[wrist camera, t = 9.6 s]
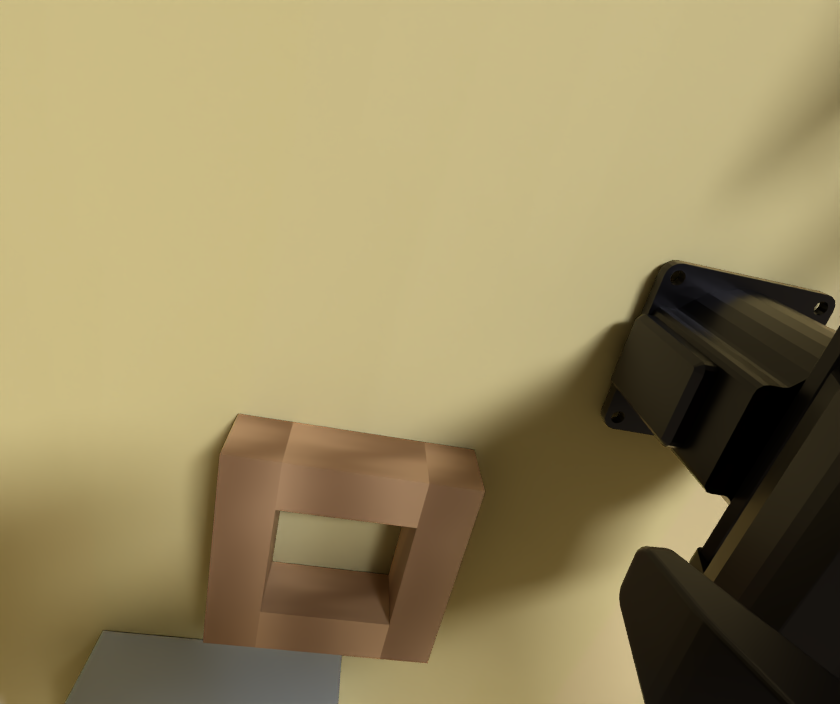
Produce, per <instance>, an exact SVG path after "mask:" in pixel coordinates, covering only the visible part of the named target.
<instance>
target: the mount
mask: <svg viewBox="0 0 840 704" xmlns="http://www.w3.org/2000/svg"><path fill="white" fill-rule="evenodd" d="M484 494H485V489H484V485H483V481H482V477H481V474H480V470H479V466H478V462H477V458H476V455H475V451H474V450H472V449H466V448H459V447H453V446H446V445H440V444H433V443H426V442H420V441H413V440H407V439H400V438H394V437H387V436H381V435H374V434H368V433H361V432H354V431H348V430H341V429H335V428H328V427H322V426H315V425H309V424H302V423H296V422H289V421H282V420H276V419H269V418H263V417H256V416H250V415H243V414H238V415H237V417H236V419H235V422H234V424H233V426H232V428H231V430H230V432H229V435H228V437H227V439H226V441H225V443H224V446H223V448H222V450H221V452H220V456H219V467H218V478H217V489H216V501H215V512H214V523H213V534H212V545H211V556H210V568H209V579H208V590H207V601H206V612H205V624H204V635H203V643H211V644H222V645H233V646H244V647H255V648H266V649H277V650H288V651H299V652H310V653H321V654H332V655H343V656H354V657H365V658H376V659H387V660H398V661H409V662H420V663H428V660H429V657H430V654H431V651H432V648H433V645H434V642H435V639H436V636H437V633H438V630H439V627H440V624H441V621H442V618H443V615H444V612H445V609H446V606H447V603H448V600H449V597H450V595H451V592H452V589H453V586H454V583H455V580H456V577H457V574H458V571H459V568H460V565H461V562H462V559H463V556H464V553H465V550H466V547H467V544H468V541H469V538H470V535H471V532H472V529H473V526H474V523H475V520H476V517H477V515H478V512H479V509H480V506H481V503H482V500H483V497H484ZM280 511H287V512H295V513H303V514H311V515H318V516H326V517H334V518H342V519H350V520H357V521H365V522H373V523H381V524H388V525H396V526H402V527H401V531H400V535H399V538H398V542H397V546H396V549H395V553H394V557H393V561H392V564H391V568H390V572H389V575H385V574H377V573H368V572H359V571H351V570H342V569H333V568H324V567H316V566H307V565H298V564H289V563H281V562H272V560H273V553H274V547H275V540H276V533H277V527H278V520H279V513H280Z"/></svg>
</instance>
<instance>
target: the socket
mask: <svg viewBox="0 0 840 704" xmlns="http://www.w3.org/2000/svg"><path fill="white" fill-rule="evenodd" d="M341 658H342V655H332V654H321V653H310V652H299V651H288V650H277V649H266V648H255V647H244V646H233V645H222V644H211V643H203V640H199V639H188V638H177V637H166V636H156V635H145V634H134V633H123V632H112V631H102V633H101V635H100V637H99V639H98V641H97V643H96V645H95V647H94V649H93V650H92V652H91V654H90V656H89V658H88V660H87V662H86V664H85V666H84V668H83V670H82V671H81V673H80V675H79V677H78V679H77V681H76V683H75V685H74V687H73V689H72V690H71V692H70V694H69V696H68V698H67V700H66V702H65V704H338V700H339V686H340V672H341Z"/></svg>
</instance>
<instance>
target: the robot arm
mask: <svg viewBox="0 0 840 704" xmlns="http://www.w3.org/2000/svg"><path fill="white" fill-rule="evenodd" d="M676 271H680V274H679V277H678V278H677V279H676V280H675V281H672V282H671V281H670V279H671V276H672V274H673V273H674V272H676ZM818 303H820V304H819V307H818V308H817V309H816V310H814V307H815V306H816V305H817V304H818ZM834 308H835V300H834V299H833V297H831V296H829V295H827V294H825V293H823V292H820V291H816V290H811V289H807V288H802V287H798V286H793V285H789V284H784V283H779V282H775V281H770V280H766V279H761V278H757V277H752V276H748V275H743V274H738V273H734V272H729V271H725V270H720V269H716V268H711V267H706V266H702V265H697V264H693V263H688V262H684V261H679V260H672V261H669V262H667V263H666V264H664V265H663V266H662V267H661V269H660V270H659V272H658V275H657V277H656V280H655V282H654V284H653V287H652V289H651V292H650V294H649V296H648V299H647V301H646V304H645V306H644V309H643V311H642V313H641V315H640V316H639V317H638V318H636V320H635V322H634V324H633V327H632V329H631V332H630V334H629V336H628V339H627V341H626V344H625V346H624V349H623V351H622V353H621V356H620V358H619V361H618V363H617V366H616V368H615V370H614V373H613V375H612V382H613V384H612V386H611V388H610V391H609V393H608V396H607V398H606V400H605V403H604V405H603V408H602V411H601V417H602V419H603V420H604V422H605V423H606V425H607V426H608V427H610V428H613V429H619V430H625V431H631V432H637V433H643V434H649V435H655V436H656V437H657V439H658V440H659V441H660V442H661V444H662V445H664V446H666V447H670V448H671V450H672V451H673V452H674V453H675V454H676V456H677V457H678V458H679V459H680V460H681V462H682V463H683V464H684V465H685V466H686V468H687V469H688V470H689V471H690V473H691V474H692V475H693V476H694V477H695V479H696V480H697V481H698V482H699V483H700V485H701V486H702V487H703V488H704V489H705V491H706V492H708V493H710V494H716V495H721V496H722V498H723V499H724V500H725V501H726V502H727V503H728V505H729V506H728V507H727V509H726V511H725V512H724V514H723V516H722V517H721V519H720V520H719V522H718V524H717V525H716V527H715V528H714V530H713V532H712V533H711V535H710V537H709V538H708V540H707V541H706V543H705V545H704V546H703V547H699V548H697V550H696V552H695V553H694V555H693V556H692V558H691V560H690V561H689V563H688V562H687V561H686V560H684V559H683V558H682V557H680V556H679V555H678V554H677V553H675V552H674V551H672V550H670V549H667V548H659V547H649V546H645V547H641V548H640V549H639V550H637V552H636V554H635V556H634V558H633V560H632V563H631V565H630V567H629V569H628V571H627V574H626V576H625V578H624V580H623V583H622V585H621V588H620V594H619V600H620V607H621V611H622V615H623V619H624V623H625V627H626V631H627V635H628V639H629V643H630V647H631V651H632V655H633V659H634V663H635V667H636V671H637V675H638V679H639V683H640V687H641V691H642V695H643V699H644V703H645V704H840V326H839V328H838V329H837V331H835V330H833V329H831V328H829V327H827V326H825V325H826V323H827V321H828V320H829V318H830V316H831V314H832V313H833V311H834ZM615 412H620V414H619V415H618V416H616V417H612V415H613V414H614V413H615ZM611 417H612V418H611Z"/></svg>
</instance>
